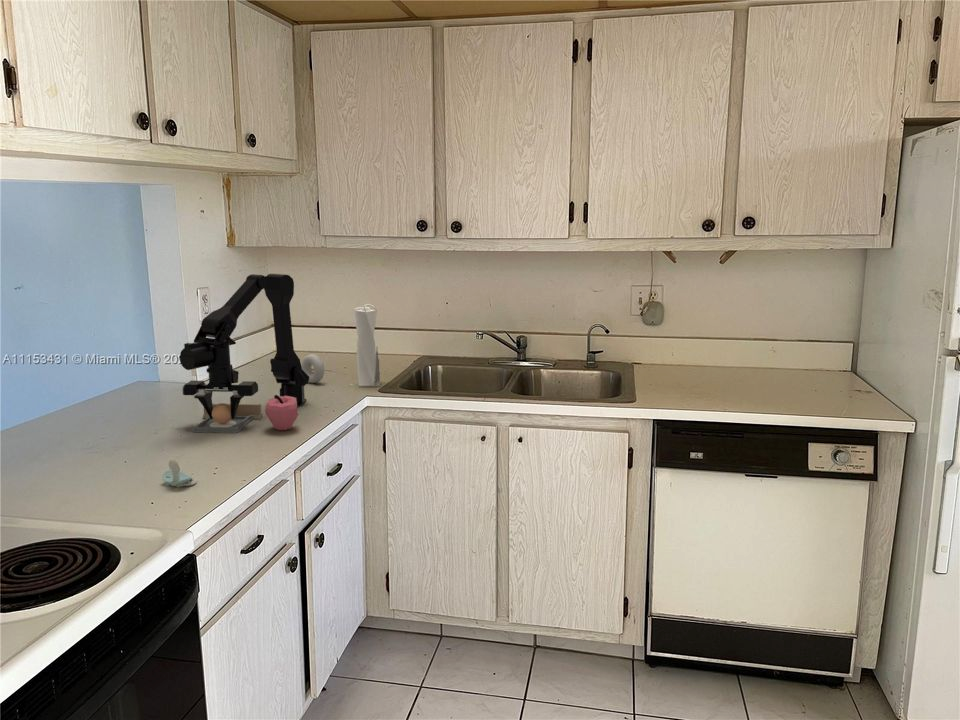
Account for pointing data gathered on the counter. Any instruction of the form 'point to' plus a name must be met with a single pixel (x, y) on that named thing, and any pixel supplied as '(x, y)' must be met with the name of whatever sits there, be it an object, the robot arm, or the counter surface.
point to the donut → (318, 368)
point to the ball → (221, 413)
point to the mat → (223, 425)
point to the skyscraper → (367, 347)
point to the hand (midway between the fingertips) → (222, 418)
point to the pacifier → (177, 475)
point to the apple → (282, 411)
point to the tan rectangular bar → (243, 410)
